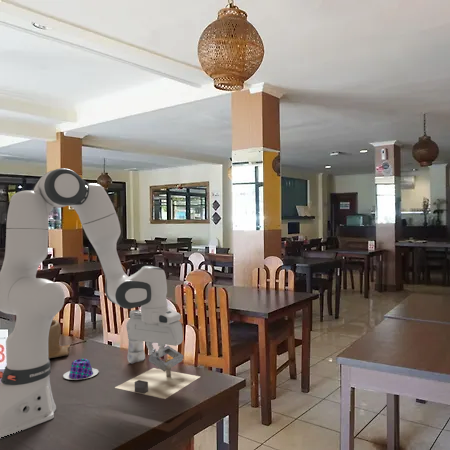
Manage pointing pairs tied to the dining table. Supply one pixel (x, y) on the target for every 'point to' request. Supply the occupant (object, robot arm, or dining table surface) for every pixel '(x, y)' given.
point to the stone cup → (56, 342)
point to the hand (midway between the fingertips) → (155, 355)
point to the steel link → (165, 366)
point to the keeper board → (158, 382)
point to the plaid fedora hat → (80, 370)
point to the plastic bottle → (134, 346)
